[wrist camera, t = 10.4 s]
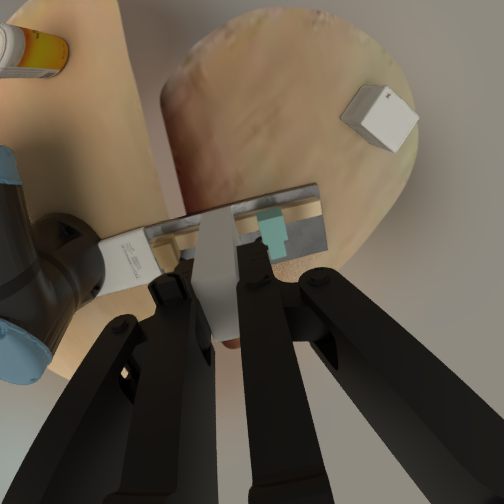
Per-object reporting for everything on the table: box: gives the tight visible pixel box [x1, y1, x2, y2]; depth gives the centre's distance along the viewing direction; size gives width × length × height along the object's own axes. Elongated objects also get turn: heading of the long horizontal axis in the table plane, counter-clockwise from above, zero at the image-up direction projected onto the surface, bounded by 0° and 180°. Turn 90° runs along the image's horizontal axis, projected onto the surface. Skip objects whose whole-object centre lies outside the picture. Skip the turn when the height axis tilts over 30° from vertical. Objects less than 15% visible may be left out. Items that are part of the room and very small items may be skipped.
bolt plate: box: [145, 183, 328, 274], centre depth 45 cm, size 24×10×1 cm, turn 104°
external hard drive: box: [96, 227, 163, 297], centre depth 45 cm, size 2×8×12 cm
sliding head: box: [255, 207, 288, 260], centre depth 42 cm, size 3×6×5 cm, turn 14°
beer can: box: [0, 23, 68, 78], centre depth 25 cm, size 6×6×15 cm
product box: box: [340, 86, 420, 153], centre depth 36 cm, size 6×6×7 cm
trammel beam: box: [149, 196, 322, 273], centre depth 42 cm, size 23×6×5 cm, turn 103°
